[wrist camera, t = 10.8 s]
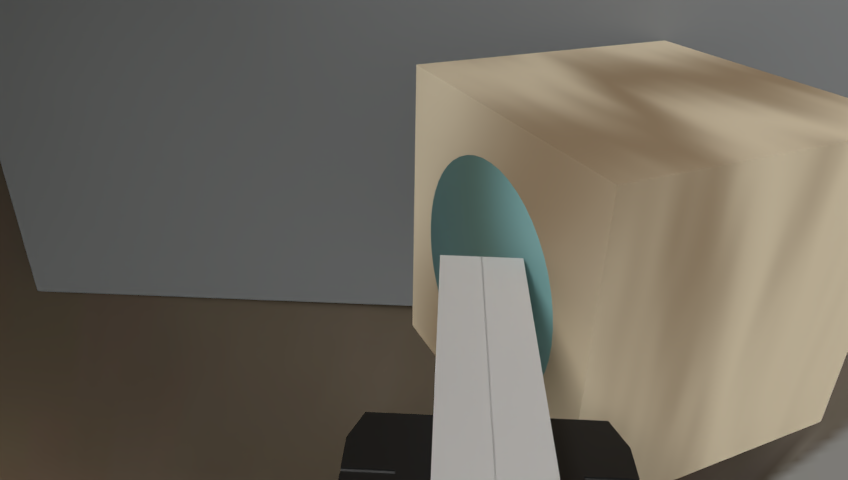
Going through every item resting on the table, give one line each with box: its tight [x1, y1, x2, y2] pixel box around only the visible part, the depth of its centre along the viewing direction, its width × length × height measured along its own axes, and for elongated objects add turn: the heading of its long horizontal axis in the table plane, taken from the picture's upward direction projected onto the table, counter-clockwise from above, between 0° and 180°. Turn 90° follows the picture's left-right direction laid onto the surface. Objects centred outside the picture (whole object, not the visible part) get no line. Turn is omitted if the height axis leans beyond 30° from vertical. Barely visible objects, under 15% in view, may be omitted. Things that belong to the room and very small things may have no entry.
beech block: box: [412, 40, 848, 480], centre depth 16 cm, size 7×7×7 cm
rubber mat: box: [0, 0, 848, 306], centre depth 20 cm, size 26×10×1 cm, turn 89°
